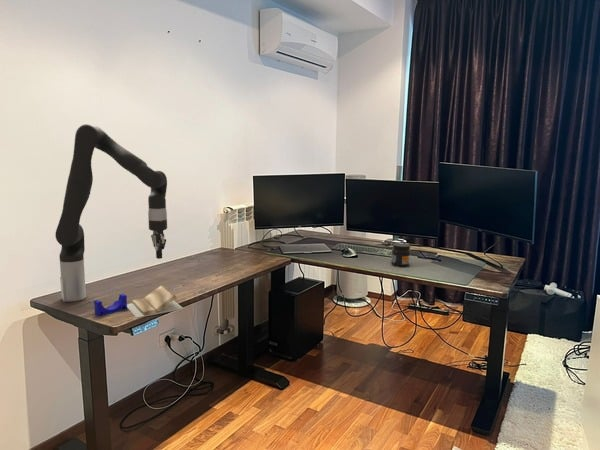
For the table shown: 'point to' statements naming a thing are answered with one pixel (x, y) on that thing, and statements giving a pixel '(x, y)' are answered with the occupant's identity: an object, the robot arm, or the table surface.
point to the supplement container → (401, 255)
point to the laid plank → (144, 306)
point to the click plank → (160, 297)
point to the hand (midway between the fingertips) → (159, 258)
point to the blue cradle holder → (115, 307)
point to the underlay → (168, 308)
